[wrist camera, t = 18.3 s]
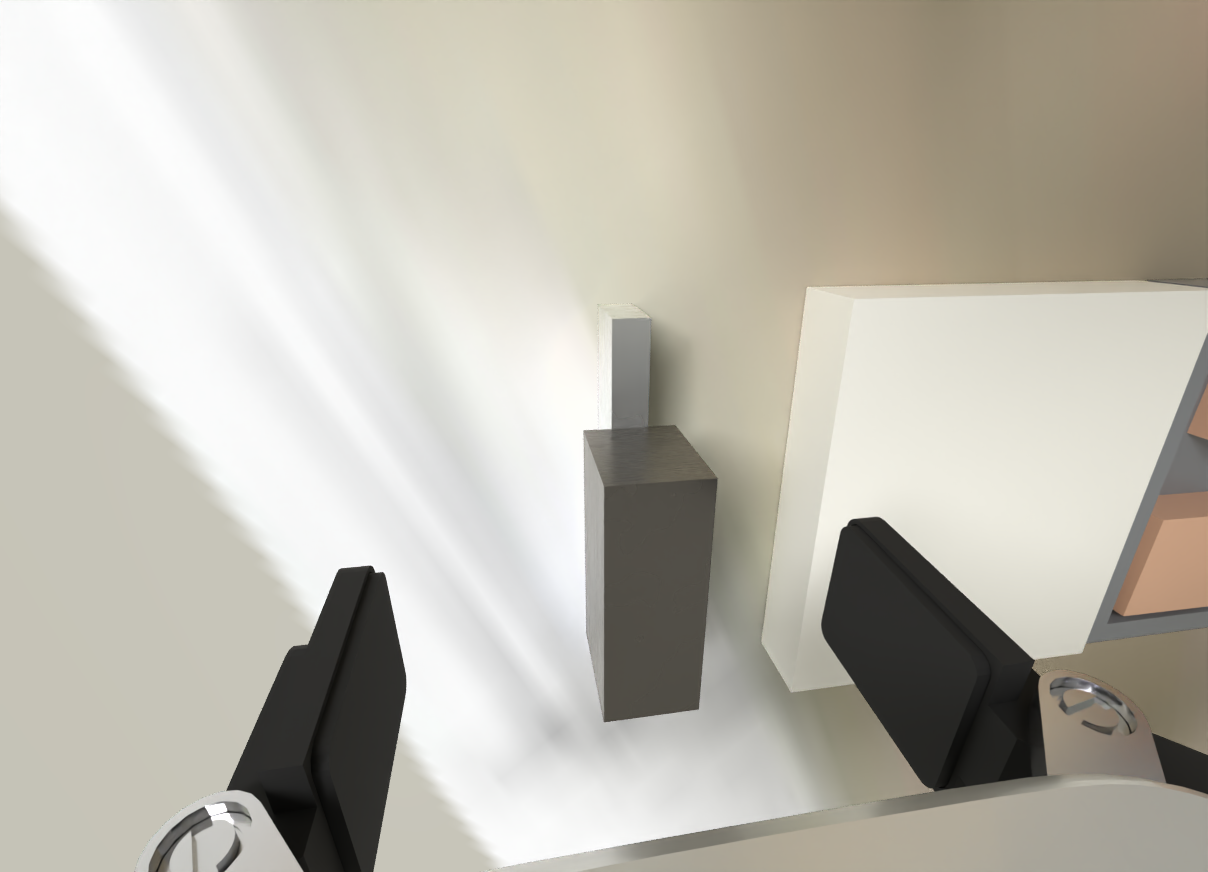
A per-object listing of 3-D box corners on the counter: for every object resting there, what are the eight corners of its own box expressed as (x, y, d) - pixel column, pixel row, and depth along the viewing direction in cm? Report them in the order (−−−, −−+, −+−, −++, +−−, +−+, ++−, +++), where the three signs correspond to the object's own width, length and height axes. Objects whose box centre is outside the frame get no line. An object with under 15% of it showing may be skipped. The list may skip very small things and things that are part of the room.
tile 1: (1117, 498, 26) (1163, 520, 24) (1207, 491, 27) (1258, 512, 25) (1082, 589, 28) (1123, 616, 26) (1167, 580, 29) (1213, 605, 27)
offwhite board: (806, 287, 20) (854, 299, 18) (1136, 280, 23) (1224, 290, 20) (761, 642, 26) (791, 692, 24) (1026, 610, 29) (1081, 653, 26)
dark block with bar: (571, 304, 20) (604, 350, 13) (655, 302, 20) (728, 345, 14) (578, 650, 25) (604, 801, 19) (644, 642, 26) (692, 788, 19)
